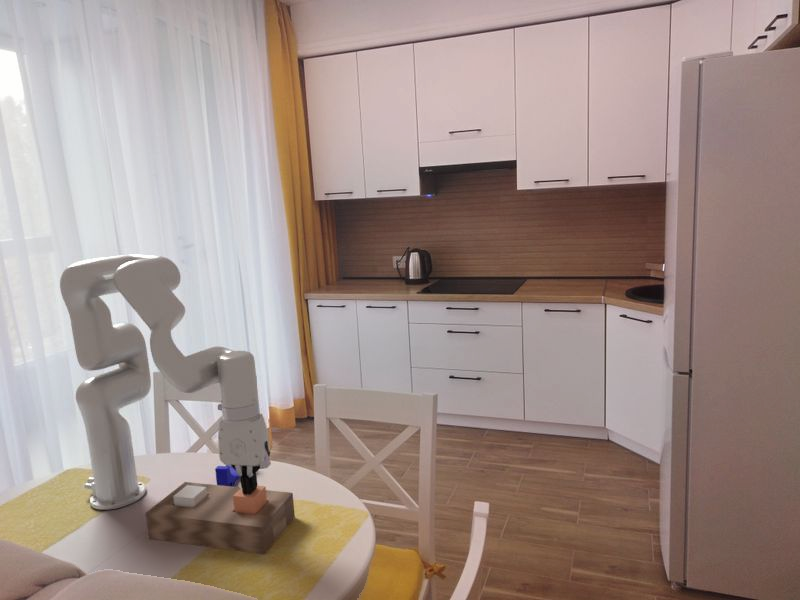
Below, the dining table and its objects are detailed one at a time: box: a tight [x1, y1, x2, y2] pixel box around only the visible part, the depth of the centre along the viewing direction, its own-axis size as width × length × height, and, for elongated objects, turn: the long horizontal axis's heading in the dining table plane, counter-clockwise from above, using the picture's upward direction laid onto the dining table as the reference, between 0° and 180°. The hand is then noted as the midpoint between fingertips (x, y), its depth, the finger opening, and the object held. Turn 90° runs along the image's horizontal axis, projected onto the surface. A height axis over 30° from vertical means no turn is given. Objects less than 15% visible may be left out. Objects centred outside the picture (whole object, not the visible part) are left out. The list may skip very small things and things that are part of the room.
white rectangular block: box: [173, 485, 207, 508], centre depth 132 cm, size 5×5×8 cm
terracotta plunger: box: [233, 485, 267, 515], centre depth 128 cm, size 5×5×8 cm
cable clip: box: [214, 465, 240, 487], centre depth 153 cm, size 12×4×6 cm, turn 172°
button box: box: [144, 481, 296, 555], centre depth 130 cm, size 28×14×6 cm, turn 74°
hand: (249, 490), depth 127 cm, fingers closed
